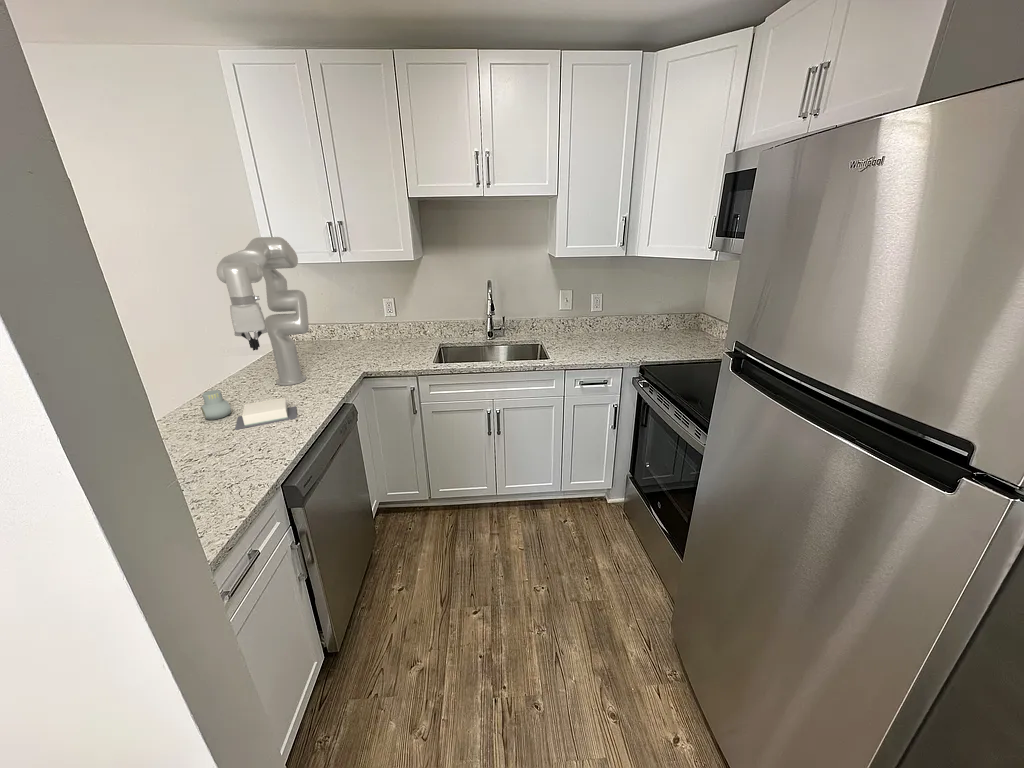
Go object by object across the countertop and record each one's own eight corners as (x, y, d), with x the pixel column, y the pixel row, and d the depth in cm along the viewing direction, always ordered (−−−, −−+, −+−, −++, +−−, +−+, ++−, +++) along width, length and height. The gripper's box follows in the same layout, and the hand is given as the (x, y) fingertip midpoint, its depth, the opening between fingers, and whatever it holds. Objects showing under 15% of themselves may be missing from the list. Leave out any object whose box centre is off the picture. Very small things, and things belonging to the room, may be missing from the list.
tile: (244, 404, 162) (242, 415, 152) (285, 397, 168) (285, 408, 157) (247, 413, 163) (244, 425, 153) (287, 406, 169) (287, 417, 159)
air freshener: (202, 415, 164) (195, 391, 160) (227, 409, 169) (220, 386, 165) (208, 424, 156) (201, 399, 153) (234, 417, 162) (227, 393, 158)
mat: (238, 418, 161) (237, 416, 161) (296, 407, 169) (295, 406, 169) (235, 430, 151) (235, 428, 151) (297, 418, 160) (296, 416, 160)
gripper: (267, 296, 158) (278, 343, 165) (219, 300, 152) (233, 349, 159) (266, 300, 152) (278, 349, 159) (217, 304, 146) (231, 355, 153)
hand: (255, 349), depth 159 cm, fingers closed
